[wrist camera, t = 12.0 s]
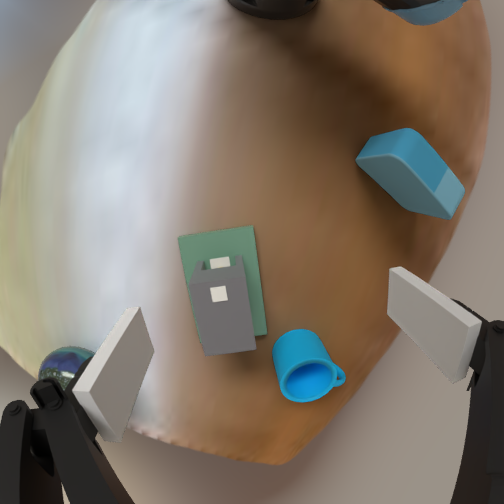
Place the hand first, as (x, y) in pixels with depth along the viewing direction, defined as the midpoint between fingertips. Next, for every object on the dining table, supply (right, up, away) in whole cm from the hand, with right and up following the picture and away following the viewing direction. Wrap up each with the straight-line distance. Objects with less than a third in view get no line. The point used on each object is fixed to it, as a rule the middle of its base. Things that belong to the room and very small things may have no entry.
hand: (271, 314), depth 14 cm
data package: (+19, +15, +25) cm, 34 cm away
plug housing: (-5, -2, +25) cm, 26 cm away
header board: (-5, -2, +27) cm, 27 cm away
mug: (+8, -13, +31) cm, 34 cm away
